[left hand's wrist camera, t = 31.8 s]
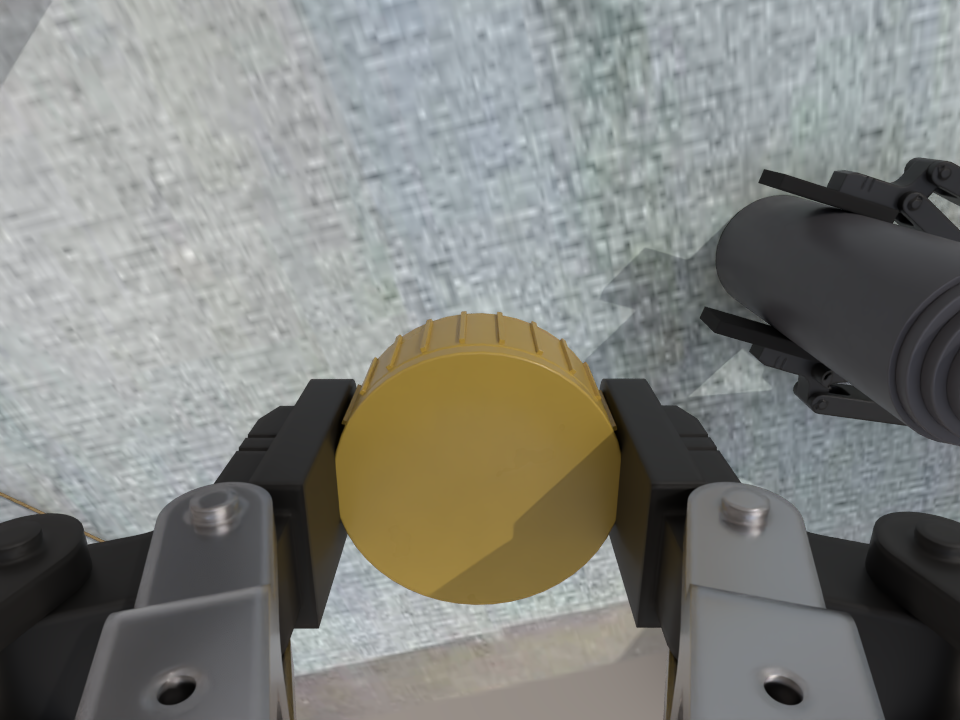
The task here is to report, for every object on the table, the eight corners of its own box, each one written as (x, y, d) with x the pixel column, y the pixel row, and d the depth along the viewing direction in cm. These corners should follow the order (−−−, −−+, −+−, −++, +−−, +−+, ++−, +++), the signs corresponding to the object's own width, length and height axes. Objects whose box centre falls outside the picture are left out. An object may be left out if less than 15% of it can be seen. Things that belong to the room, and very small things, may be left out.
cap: (392, 556, 13) (378, 630, 11) (318, 343, 11) (287, 387, 9) (624, 510, 12) (648, 578, 11) (580, 282, 11) (599, 316, 9)
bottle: (694, 243, 43) (956, 405, 20) (795, 170, 42) (1212, 251, 18) (751, 328, 45) (1050, 568, 22) (850, 262, 44) (1287, 443, 20)
